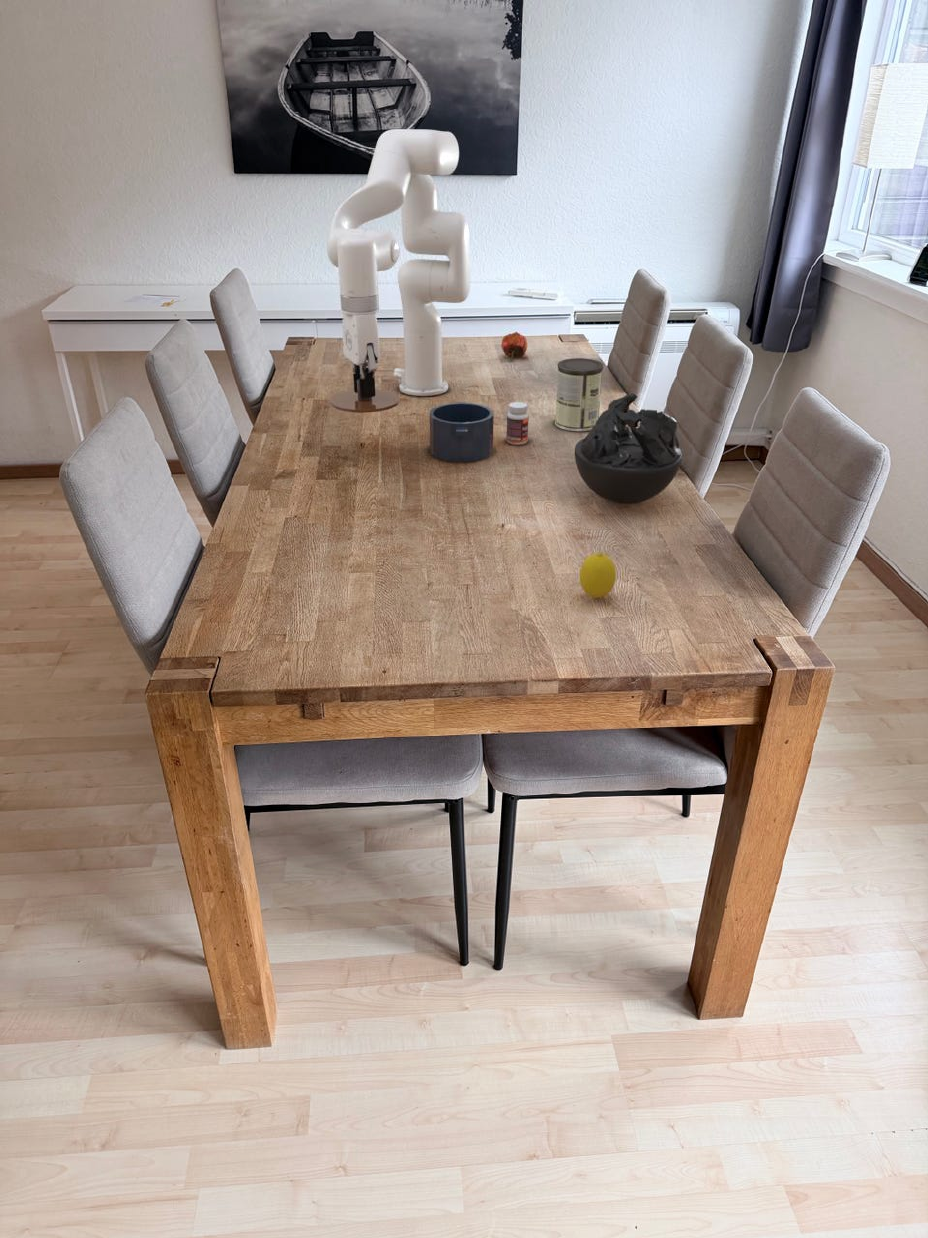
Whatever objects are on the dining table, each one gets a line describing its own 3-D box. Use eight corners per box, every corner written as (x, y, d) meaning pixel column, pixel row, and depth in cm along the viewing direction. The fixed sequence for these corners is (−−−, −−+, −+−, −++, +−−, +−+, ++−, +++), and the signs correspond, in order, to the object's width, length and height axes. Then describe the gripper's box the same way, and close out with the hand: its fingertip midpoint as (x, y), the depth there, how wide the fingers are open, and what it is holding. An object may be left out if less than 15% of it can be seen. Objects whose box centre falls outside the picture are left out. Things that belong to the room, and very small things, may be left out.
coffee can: (562, 414, 217) (566, 355, 210) (604, 420, 213) (609, 360, 206) (547, 427, 209) (551, 367, 202) (590, 434, 205) (595, 372, 198)
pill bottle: (526, 445, 199) (527, 408, 195) (504, 444, 200) (505, 407, 196) (529, 438, 203) (530, 402, 199) (508, 436, 204) (509, 400, 200)
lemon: (575, 590, 145) (578, 545, 140) (609, 588, 145) (613, 544, 141) (581, 607, 140) (585, 562, 136) (617, 606, 140) (621, 560, 136)
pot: (429, 467, 189) (428, 428, 184) (431, 435, 205) (430, 398, 200) (494, 467, 189) (495, 427, 184) (491, 435, 205) (491, 398, 200)
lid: (326, 415, 184) (324, 389, 181) (334, 393, 196) (332, 368, 193) (398, 415, 184) (397, 389, 181) (401, 393, 196) (400, 368, 193)
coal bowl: (652, 530, 163) (664, 430, 153) (553, 505, 172) (559, 409, 162) (690, 492, 178) (704, 399, 168) (597, 471, 187) (605, 381, 177)
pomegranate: (525, 368, 257) (534, 340, 261) (518, 352, 251) (527, 323, 254) (501, 368, 260) (510, 340, 264) (494, 352, 254) (503, 323, 257)
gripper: (329, 296, 184) (335, 385, 194) (355, 313, 172) (360, 408, 181) (364, 293, 187) (368, 381, 197) (392, 310, 174) (395, 403, 184)
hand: (364, 393), depth 189 cm, fingers closed on lid, 3 cm apart
